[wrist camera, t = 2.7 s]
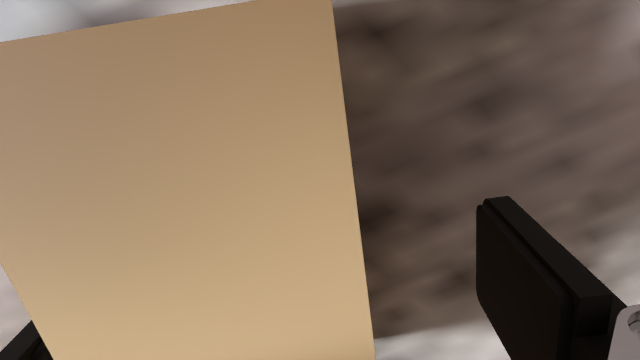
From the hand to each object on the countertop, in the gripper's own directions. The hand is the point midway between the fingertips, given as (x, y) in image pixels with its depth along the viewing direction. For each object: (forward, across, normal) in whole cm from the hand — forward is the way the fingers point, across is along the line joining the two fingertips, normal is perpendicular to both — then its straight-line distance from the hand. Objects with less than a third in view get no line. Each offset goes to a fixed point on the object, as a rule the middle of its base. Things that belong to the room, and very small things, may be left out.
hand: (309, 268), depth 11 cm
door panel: (+3, 0, 0) cm, 3 cm away
